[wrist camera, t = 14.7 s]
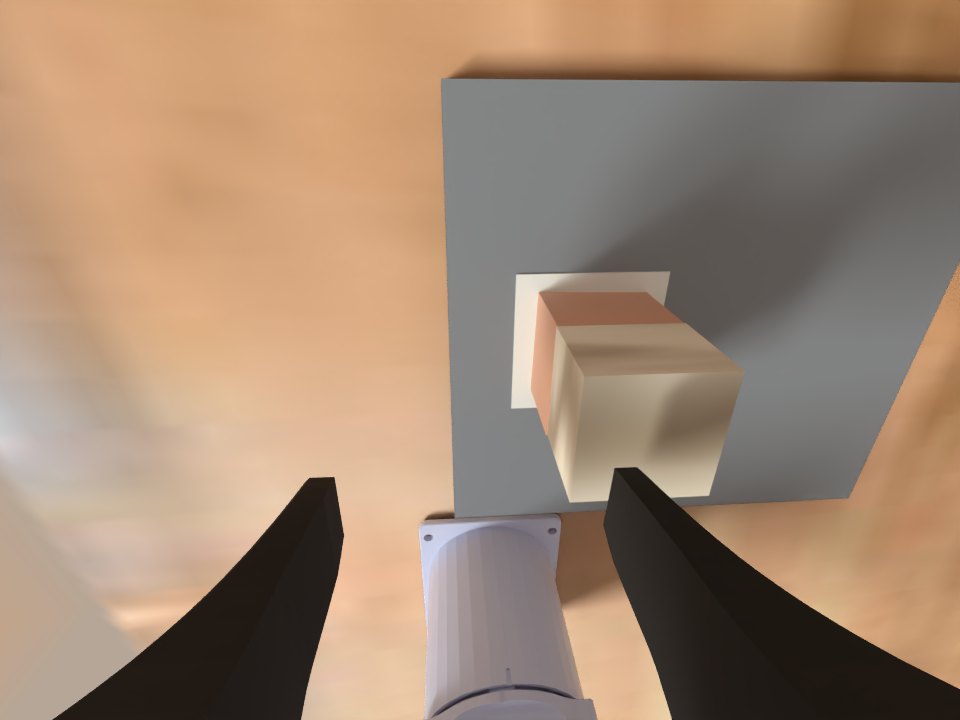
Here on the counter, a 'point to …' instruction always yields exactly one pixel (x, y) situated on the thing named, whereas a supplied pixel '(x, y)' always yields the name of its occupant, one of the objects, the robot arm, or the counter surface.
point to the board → (699, 259)
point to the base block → (582, 313)
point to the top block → (639, 407)
